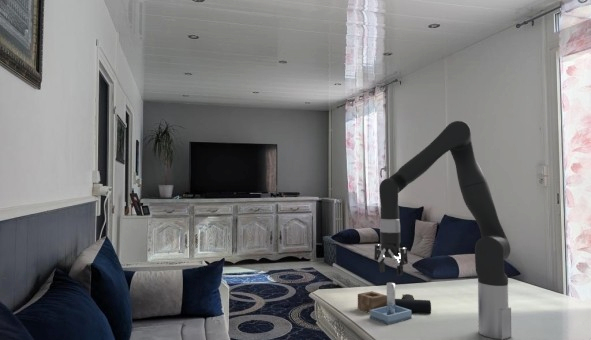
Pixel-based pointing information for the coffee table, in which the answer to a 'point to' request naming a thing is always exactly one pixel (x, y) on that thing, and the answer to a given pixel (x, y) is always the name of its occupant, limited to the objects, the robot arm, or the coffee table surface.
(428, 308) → the pipe connector
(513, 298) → the coffee table surface
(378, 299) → the pin block
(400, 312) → the tray
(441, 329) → the coffee table surface
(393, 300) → the pin
